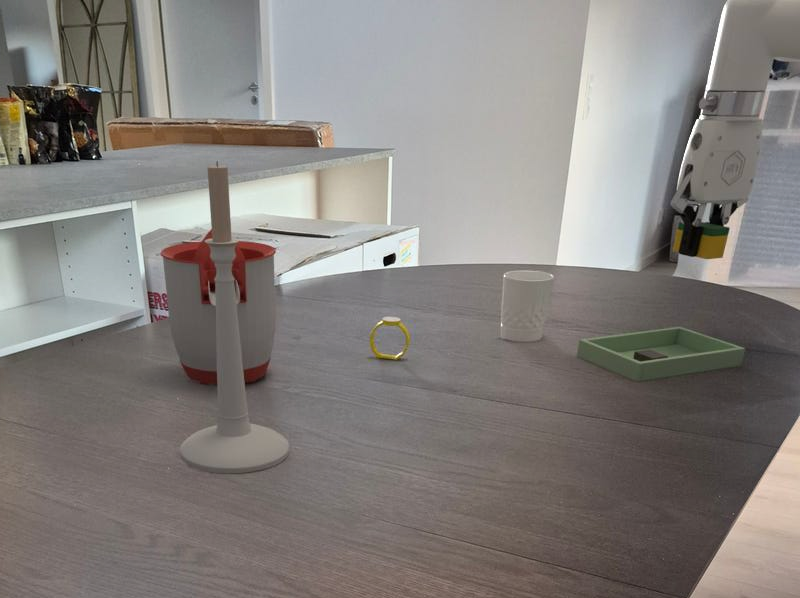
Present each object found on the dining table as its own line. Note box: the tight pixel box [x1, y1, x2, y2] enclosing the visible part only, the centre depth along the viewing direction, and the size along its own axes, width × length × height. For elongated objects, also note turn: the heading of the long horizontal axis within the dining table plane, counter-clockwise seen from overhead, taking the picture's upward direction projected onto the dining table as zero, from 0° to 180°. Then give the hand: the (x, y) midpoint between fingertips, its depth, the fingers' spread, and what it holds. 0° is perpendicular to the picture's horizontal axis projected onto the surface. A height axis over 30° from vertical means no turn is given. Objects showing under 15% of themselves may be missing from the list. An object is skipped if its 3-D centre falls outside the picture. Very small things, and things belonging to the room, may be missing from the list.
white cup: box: [499, 269, 555, 343], centre depth 137 cm, size 8×8×10 cm
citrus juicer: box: [160, 228, 277, 386], centre depth 118 cm, size 16×17×20 cm
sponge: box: [672, 221, 731, 260], centre depth 123 cm, size 3×7×4 cm, turn 22°
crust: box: [633, 350, 668, 362], centre depth 127 cm, size 3×4×1 cm
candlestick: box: [179, 160, 290, 474], centre depth 91 cm, size 13×13×30 cm
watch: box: [369, 316, 410, 361], centre depth 130 cm, size 6×3×6 cm, turn 77°
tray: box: [576, 326, 746, 383], centre depth 128 cm, size 20×14×3 cm
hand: (697, 253), depth 124 cm, fingers closed on sponge, 3 cm apart
